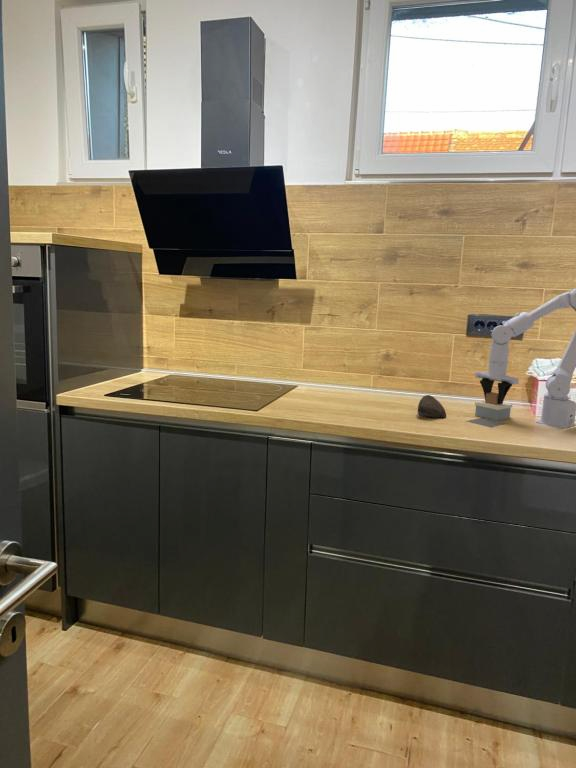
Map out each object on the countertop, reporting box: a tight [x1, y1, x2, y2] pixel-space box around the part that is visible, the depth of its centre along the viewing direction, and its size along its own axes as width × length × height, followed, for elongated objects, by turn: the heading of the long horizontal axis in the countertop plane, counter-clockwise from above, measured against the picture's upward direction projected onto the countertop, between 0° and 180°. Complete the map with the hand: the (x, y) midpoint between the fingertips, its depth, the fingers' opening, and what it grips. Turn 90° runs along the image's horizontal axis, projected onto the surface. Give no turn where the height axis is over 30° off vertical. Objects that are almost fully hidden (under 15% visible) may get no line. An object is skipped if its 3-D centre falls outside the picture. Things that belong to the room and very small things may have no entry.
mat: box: [466, 417, 507, 428], centre depth 182 cm, size 9×9×1 cm
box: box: [474, 405, 512, 422], centre depth 190 cm, size 8×8×4 cm
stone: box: [417, 394, 447, 419], centre depth 188 cm, size 10×8×10 cm
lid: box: [474, 391, 513, 410], centre depth 190 cm, size 9×9×4 cm
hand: (493, 402), depth 190 cm, fingers closed on lid, 4 cm apart
